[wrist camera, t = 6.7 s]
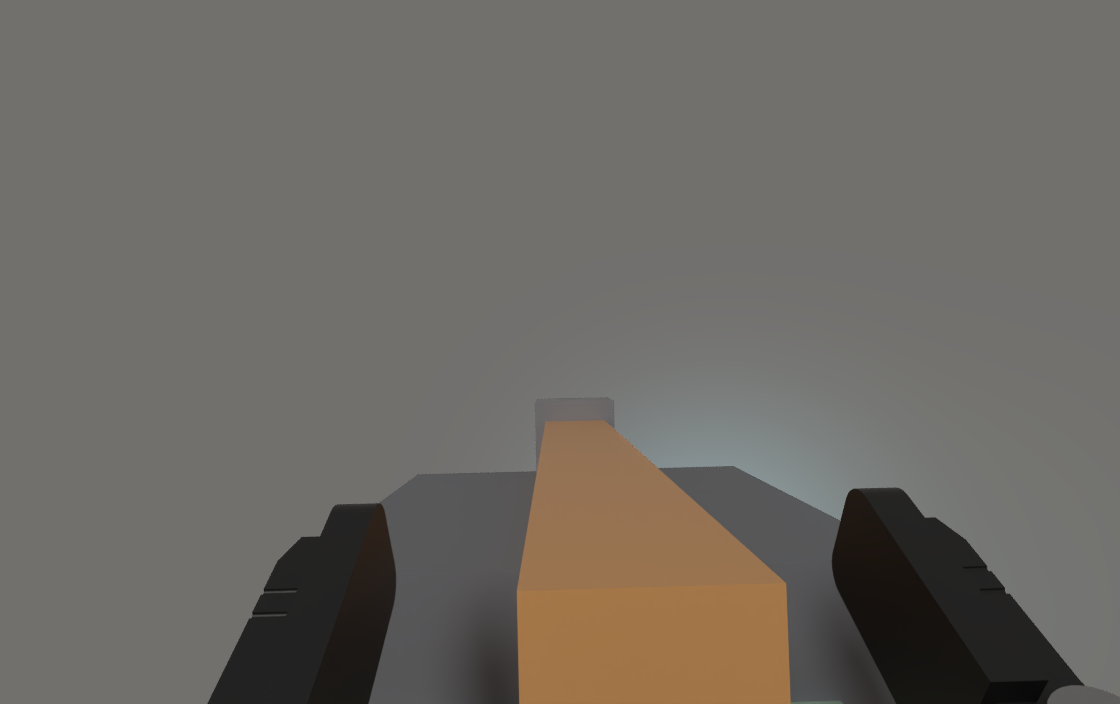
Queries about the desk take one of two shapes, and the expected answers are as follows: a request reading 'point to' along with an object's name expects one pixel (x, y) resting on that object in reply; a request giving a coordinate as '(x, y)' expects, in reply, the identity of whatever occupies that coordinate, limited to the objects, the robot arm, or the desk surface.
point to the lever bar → (636, 581)
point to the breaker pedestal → (494, 567)
